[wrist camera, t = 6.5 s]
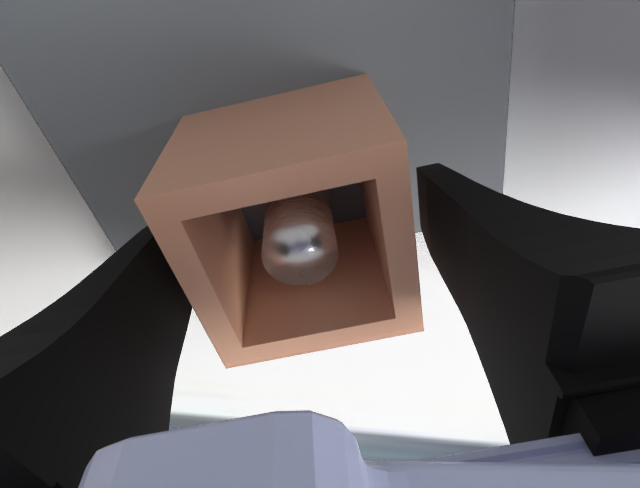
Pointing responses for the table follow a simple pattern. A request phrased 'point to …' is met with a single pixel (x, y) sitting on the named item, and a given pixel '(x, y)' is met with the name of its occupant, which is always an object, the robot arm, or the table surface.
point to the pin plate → (256, 93)
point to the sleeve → (279, 183)
